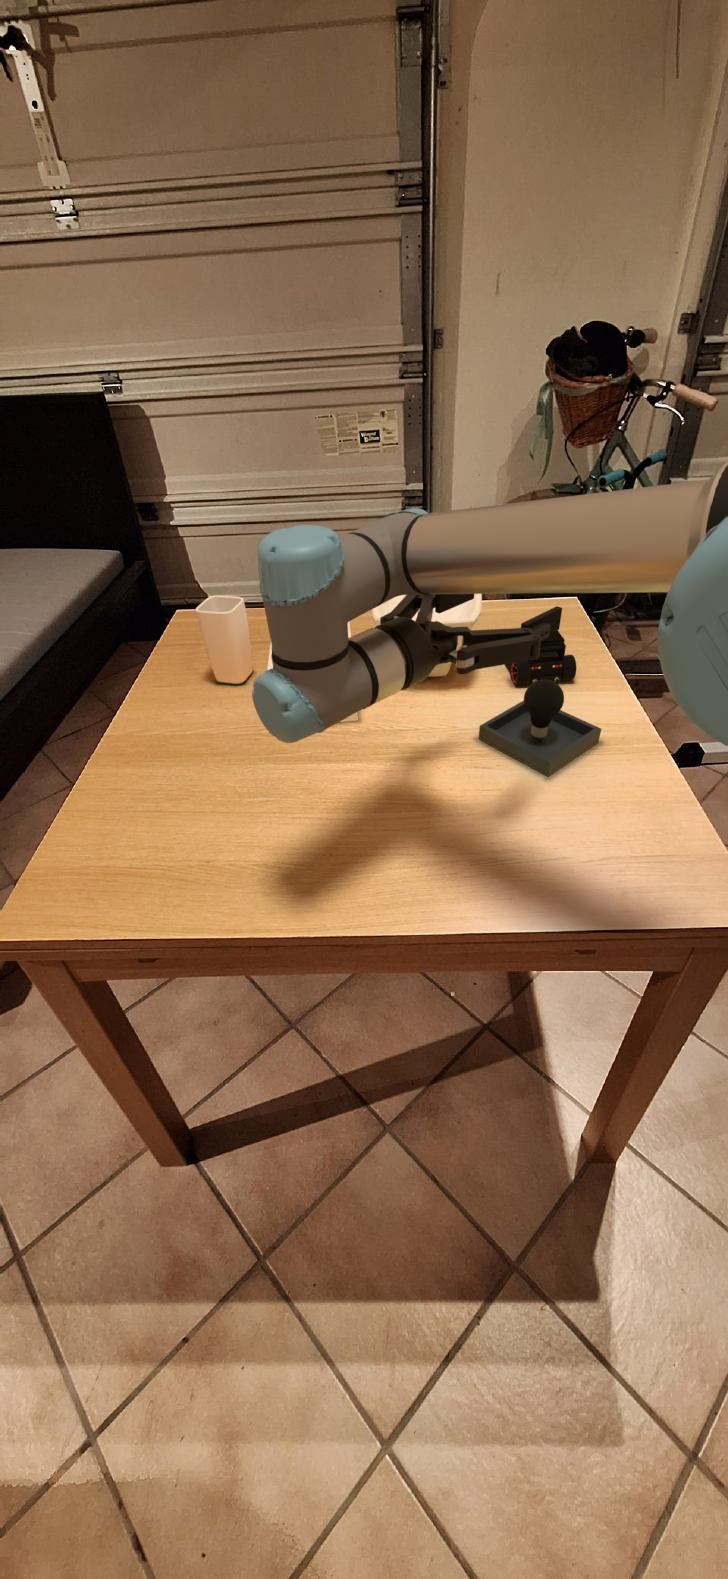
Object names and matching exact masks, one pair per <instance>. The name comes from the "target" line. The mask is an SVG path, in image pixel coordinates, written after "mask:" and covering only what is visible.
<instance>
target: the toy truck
mask: <svg viewBox="0 0 728 1579" xmlns="http://www.w3.org/2000/svg"><path fill="white" fill-rule="evenodd" d="M565 640H566V639H565V638H564V637H563V635H562V634H561V633H560V631H559V630H557V631H555V632H553V633H551V634H549V636H548V638H546V639H544V640H542V641H541V645H540V652H539V658H538V659H534V660H528V661H522V662H517V663H511V664H506V666H507V669H508V670H509V671H510V675H511V681H512V683H513V684H514V685H515V686H517V685H518V686H519V685H528V684H529V685H531V684H532V683H534V682H536V681H538V680H543V679H546V680H551V681H554V682H561V681H572V680H574V679H575V677H576V675H577V661H576V658H575V656H574V655H573V654H566V649H567V645H566V643H565Z"/></svg>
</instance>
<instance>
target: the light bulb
mask: <svg viewBox="0 0 728 1579" xmlns="http://www.w3.org/2000/svg"><path fill="white" fill-rule="evenodd" d="M523 700H524V705H525V708H526V709H527V711H528V712H529V714H530V718H531V724H532V727H531V734H532V735H533V736H534V737H536V738H538V739H540V738H543V737H545V736H546V735H547V730H548V726H549V724H550V722H551V720H552V718H553V716H554V715H556V714H557V713H558V712H559V711H560V710H561V711H562V708H563V706H564V703H565V694H564V690H563V689H562V687H561V686H560V685H559V684H558V683H557V681H551V680H546V679H543V680H538V681H536V682H534V683H531V684H529V686H528V687H527V688H526V690H525V692H524V696H523Z"/></svg>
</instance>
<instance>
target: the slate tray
mask: <svg viewBox="0 0 728 1579" xmlns="http://www.w3.org/2000/svg"><path fill="white" fill-rule="evenodd" d="M531 727H532V724H531V718H530V714H529V712H528V711H527V709H526V708H525V705H524V699H523V700H522V701H520V702H518V703H517V704H515V705H512V706H511V707H510V708H507V709H506V710H505V711H503V712H500V713H499V714H498V715H495V716H494V717H492V718H491V719H489V720H487V721H485V722H484V723H482V724H480V725H479V730H478V740H479V741H481V742H483V743H485V744H486V745H488V746H490V747H492V748H494V749H496V750H497V751H499V752H501V753H503V754H505V755H507V756H509V757H511V758H513V759H514V760H516V761H518V762H520V763H521V764H524V765H525V766H527V767H529V768H531V769H533V770H535V771H536V772H538V773H539V774H542V775H544V776H545V777H547V778H548V777H550V776H551V775H553V774H555V773H556V772H557V771H559V770H561V768H563V767H565V766H566V765H568V764H569V763H570V762H572V761H573V760H575V759H577V758H578V757H579V756H580V755H582V754H583V753H585V752H586V751H588V750H590V749H591V748H592V747H594V746H595V745H597V744H598V743H599V741H600V737H601V733H602V728H601V727H599V726H597V725H594V724H592V723H590V722H588V721H586V720H583V719H581V718H580V717H577V716H575V715H573V714H570V713H568V712H565V711H564V710H562V709H561V710H560V711H559V712H558V713H557V714H556V715H554V716H553V718H552V720H551V722H550V724H549V726H548V730H547V735H546V736H545V737H543V738H540V739H538V738H536V737H534V736H533V735H532V734H531Z"/></svg>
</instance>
